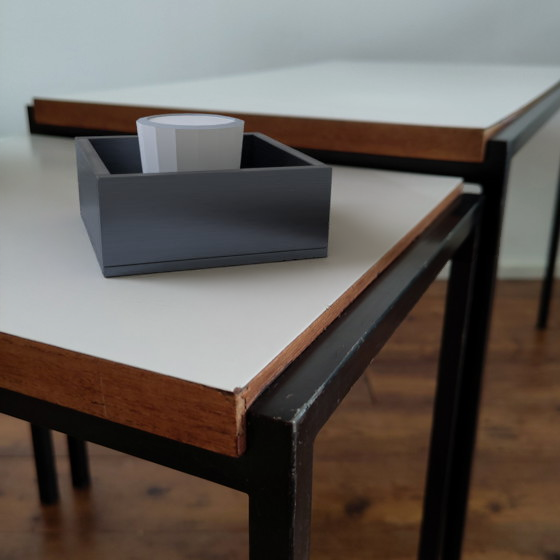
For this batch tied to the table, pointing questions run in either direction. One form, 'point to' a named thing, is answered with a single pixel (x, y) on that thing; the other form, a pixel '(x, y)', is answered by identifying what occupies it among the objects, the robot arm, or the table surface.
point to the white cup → (189, 142)
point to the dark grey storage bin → (201, 208)
